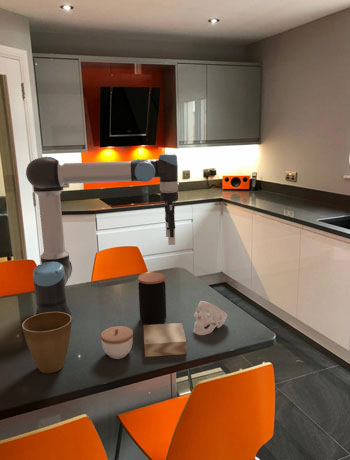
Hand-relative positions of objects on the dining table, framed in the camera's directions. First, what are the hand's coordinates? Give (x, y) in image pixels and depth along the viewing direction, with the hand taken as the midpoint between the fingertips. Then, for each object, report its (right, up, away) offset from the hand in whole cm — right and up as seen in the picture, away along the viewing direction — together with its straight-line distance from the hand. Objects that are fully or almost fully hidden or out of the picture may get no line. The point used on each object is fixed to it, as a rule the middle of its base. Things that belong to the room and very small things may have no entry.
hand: (170, 240), depth 173 cm
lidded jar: (-17, -38, -37) cm, 55 cm away
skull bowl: (+15, -33, -19) cm, 41 cm away
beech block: (-2, -36, -31) cm, 48 cm away
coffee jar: (-7, -32, -11) cm, 34 cm away
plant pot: (-38, -40, -44) cm, 70 cm away
